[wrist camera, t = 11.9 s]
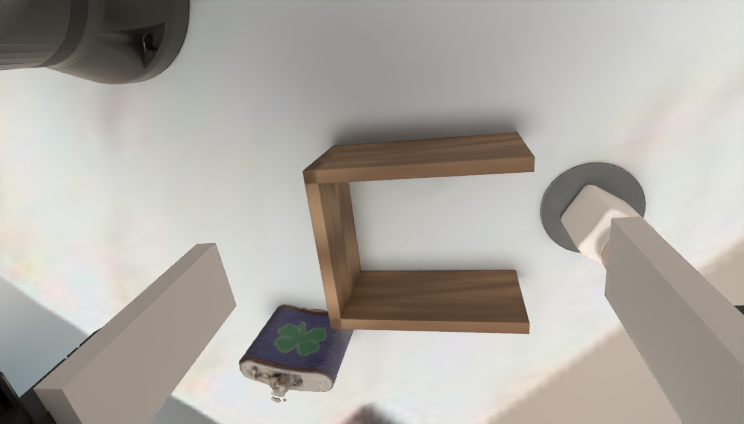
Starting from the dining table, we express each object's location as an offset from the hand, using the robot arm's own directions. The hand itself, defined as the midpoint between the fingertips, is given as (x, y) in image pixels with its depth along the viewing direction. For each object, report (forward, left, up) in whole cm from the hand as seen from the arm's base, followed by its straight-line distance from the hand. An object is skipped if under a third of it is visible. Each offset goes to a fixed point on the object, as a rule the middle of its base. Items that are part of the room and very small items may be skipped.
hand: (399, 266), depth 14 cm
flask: (+20, -14, -24) cm, 34 cm away
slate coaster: (+8, +13, -23) cm, 28 cm away
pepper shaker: (+8, +13, -23) cm, 27 cm away
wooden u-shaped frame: (+8, -1, -23) cm, 24 cm away
